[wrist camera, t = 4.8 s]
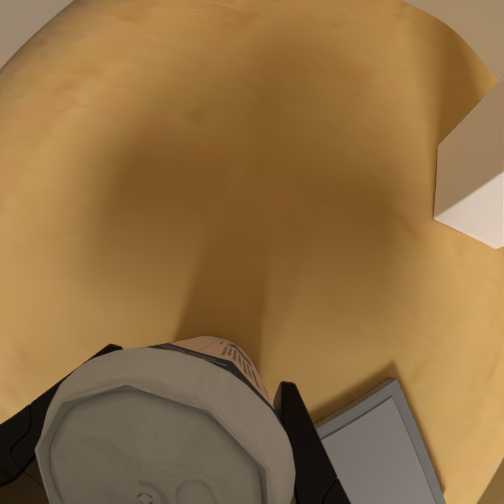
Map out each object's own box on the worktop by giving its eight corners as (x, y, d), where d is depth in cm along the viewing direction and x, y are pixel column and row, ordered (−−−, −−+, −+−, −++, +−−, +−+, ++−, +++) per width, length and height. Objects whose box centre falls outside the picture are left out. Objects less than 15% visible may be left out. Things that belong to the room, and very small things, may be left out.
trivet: (292, 580, 12) (294, 588, 11) (207, 471, 14) (205, 478, 13) (440, 500, 13) (447, 505, 13) (390, 377, 15) (397, 379, 15)
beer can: (159, 336, 16) (0, 341, 4) (254, 333, 16) (299, 343, 4) (167, 426, 14) (56, 565, 3) (260, 423, 15) (306, 587, 3)
